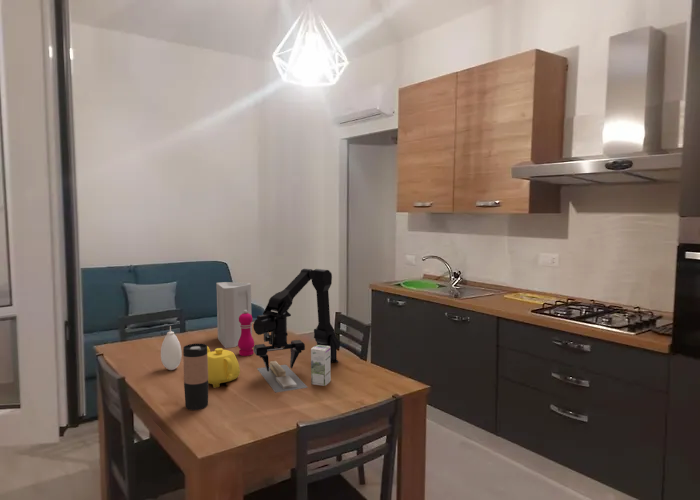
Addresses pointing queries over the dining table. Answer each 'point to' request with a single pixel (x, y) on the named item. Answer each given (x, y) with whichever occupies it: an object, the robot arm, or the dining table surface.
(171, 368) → the air blower bulb
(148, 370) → the dining table surface
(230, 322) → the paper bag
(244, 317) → the pepper mill
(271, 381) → the charcoal board
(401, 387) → the dining table surface
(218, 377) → the teapot
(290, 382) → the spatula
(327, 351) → the syrup box
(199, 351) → the travel mug
